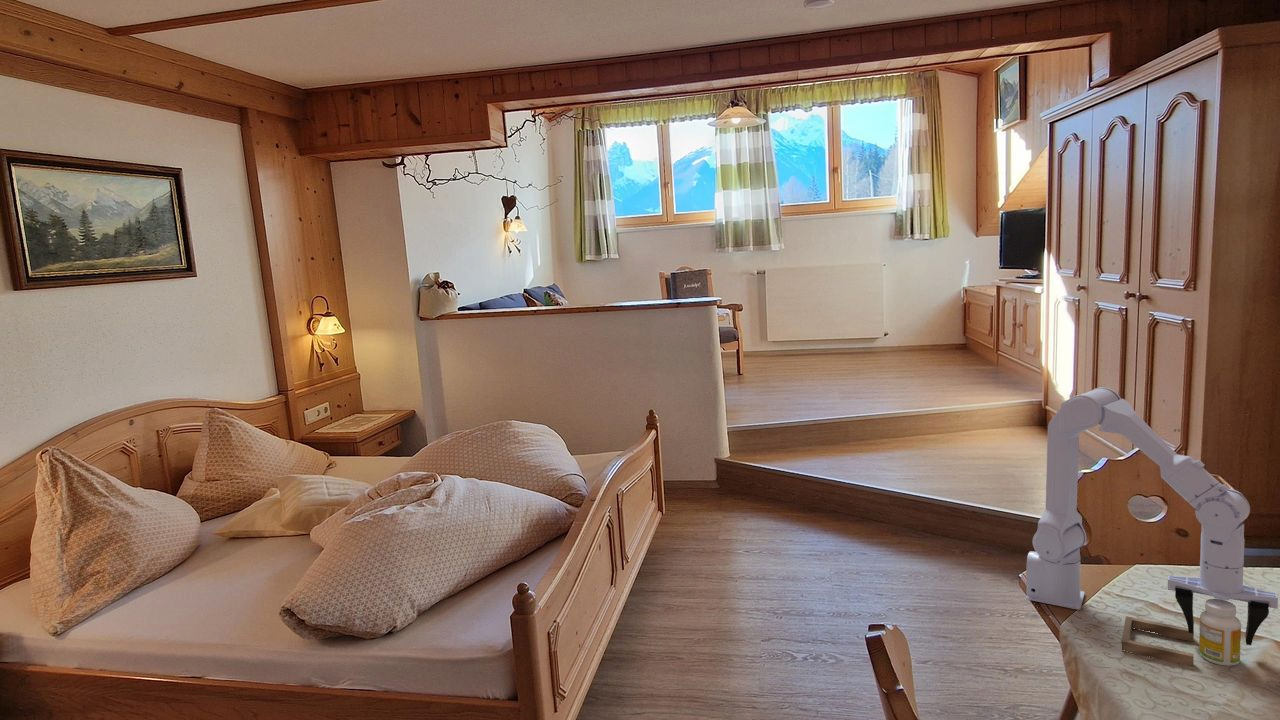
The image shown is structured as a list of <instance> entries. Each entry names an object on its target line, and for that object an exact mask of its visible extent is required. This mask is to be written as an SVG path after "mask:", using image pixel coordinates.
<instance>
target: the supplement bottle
mask: <svg viewBox="0 0 1280 720" xmlns="http://www.w3.org/2000/svg"><path fill="white" fill-rule="evenodd" d="M1204 608H1205V610H1203V611H1202V612H1201V613H1200V615H1199V642H1198V643H1199V644H1198V649H1199V650H1198V651H1199V652H1198V653H1199V655H1200V656H1201V657H1202V658H1203V659H1204V660H1206V661H1208V662H1210V663H1213V664H1215V665H1220V666H1226V667H1230V666H1236V665H1238V664H1239V663H1240V661H1241V642H1242V641H1241V639H1242V637H1241V635H1242V622H1241V621H1240V619H1239V618H1238V617H1237V616H1236V615H1237V606H1236V605H1235V604H1234V603H1233V602H1230V601H1229V600H1221V599H1216V598H1210V599H1206V601H1205V606H1204Z"/></svg>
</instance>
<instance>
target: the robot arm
mask: <svg viewBox="0 0 1280 720" xmlns="http://www.w3.org/2000/svg"><path fill="white" fill-rule="evenodd" d="M1098 425H1100V426H1099V428H1098V431H1099V432H1105V433H1112V434H1119V435H1122V437H1124V438H1125V439H1126V440H1128V441H1129V442H1130V443H1131V444H1132V445H1133V446H1135V447H1136V448H1137V449H1138V450H1140V451H1141V452H1142V453H1143V454H1144V455H1146V457H1148V458H1149V459H1150V460H1152V461H1153V462H1154V463H1155V464H1156V465H1157V466H1159V470H1160V478H1161V479H1162V480H1163V481H1164V482H1166V483H1167V484H1168V485H1169V486H1170V487H1171V488H1172V489H1173V490H1174V491H1175V492H1176V493H1178V495H1179V496H1181V498H1183V499H1184V500H1185V501H1186V502H1187V503H1189V505H1190V506H1191V507H1192V508H1194V509H1195V511H1194V514H1195V518H1196V520H1197V521H1198V523H1199V524H1200V525H1201V533H1200V556H1199V559H1200V560H1199V577H1195V576H1192V577H1190V576H1177V575H1169V574H1168V576H1167V591H1172V592H1174V593H1175V594H1174V597H1175V600H1176V602H1177V604H1178V605H1179V607H1180V609H1181V611H1182V613H1183V616H1184V617H1185V621H1186V625H1187V628H1188V633H1192V634H1195V632H1194V631H1195V629H1194V628H1195V626H1194V625H1195V622H1194V608H1193V607H1194V594H1198V595H1199V594H1200V595H1206V596H1210V597H1212V598H1213V599H1221V600H1225V601H1230V600H1233V601H1240V602H1245V603H1247V621H1246V627H1245V645H1246V646H1252V644H1253V640H1254V638H1255V635H1256V633H1257V631H1258V629H1259V628H1260V626H1261V625H1262V623H1263V622H1264V621H1265V620H1266V619H1267V618H1268V616H1269V614H1270V610H1269V609H1270V608H1271V609H1275V610H1277V609H1278V608H1279V607H1278V605H1279V595H1278V592H1272V591H1267V590H1263V589H1258V588H1256V587H1252V586H1250V585H1249V586H1248V585H1246V584H1245V585H1244V563H1245V562H1244V561H1245V535H1244V534H1245V523H1244V521H1245V520H1246V519H1248V517H1249V515H1250V512H1251V505H1250V503H1249V501H1248V499H1247V498H1246V497H1245V496H1244V494H1243V493H1242V492H1241V491H1238V490H1236V489H1232V488H1230V487H1229V486H1227V485H1226V484H1225V483H1223V484H1222V483H1221V482H1220V481H1219V480H1218V479H1216V478H1215V476H1213V475H1212V474H1210V472H1208V470H1206V468H1204V467H1205V465H1206V464H1204V462H1202V461H1201V460H1200V459H1197V460H1195V459H1194V458H1193V457H1191V456H1189V455H1182V454H1178V453H1176V452H1175V451H1174V450H1173V448H1171V446H1170V445H1169V444H1167V443H1166V442H1165V441H1164V440H1163V439H1162V438H1161V437H1160V435H1158V434H1157V433H1156V432H1155V430H1153V428H1151V427H1150V426H1149V424H1147V423H1146V421H1145V420H1144V419H1142V418H1141V416H1140V415H1138V413H1136V411H1135V409H1134V408H1133V407H1132V404H1130V403H1129V402H1128V400H1126V399H1124V398H1121V396H1120V395H1119V393H1117V392H1116V391H1115V390H1113V389H1111V388H1109V387H1105V386H1103V387H1102V386H1101V387H1096V388H1093V389H1091V390H1090V391H1087V392H1084V393H1081V394H1077V395H1074V396H1072V397H1070V398H1068V399H1067V400H1064V401H1063V402H1061V403H1060V407H1059V409H1058V410H1057V411H1056V412H1055V414H1054V415H1053V417H1052V418H1051V419H1050V421H1049V422H1048V424H1047V442H1046V443H1047V445H1046V446H1047V447H1046V448H1047V449H1046V478H1045V479H1046V483H1045V485H1046V487H1045V509H1044V511H1043V513H1042V515H1041V517H1040V518H1039V520H1038V521H1037V530H1036V532H1035V533H1034V535H1033V537H1032V547H1033V548H1034V551H1032V550H1031V551H1029V552H1028V553H1027V556H1026V564H1025V565H1026V567H1025V568H1026V575H1025V576H1026V577H1025V578H1026V583H1025V584H1026V585H1025V586H1026V596H1025V599H1026V600H1027V601H1028V600H1029V601H1033V602H1038V603H1042V604H1048V605H1052V606H1059V607H1062V608H1066V609H1067V608H1068V609H1071V610H1072V609H1073V610H1077V611H1079V610H1081V608H1082V604H1083V601H1084V597H1085V594H1086V592H1085V591H1083V590H1081V554H1080V551H1081V549H1080V548H1082V547H1083V546H1084V545H1085V544H1086V541H1087V533H1086V530H1085V528H1084V526H1083V517H1082V515H1081V514H1080V513H1079V512H1078V510H1077V509H1078V508H1077V507H1078V481H1079V476H1078V475H1079V451H1080V450H1079V449H1080V435H1081V434H1083V433H1084V432H1085V431H1087V430H1089V429H1092V428H1094V427H1096V426H1098Z"/></svg>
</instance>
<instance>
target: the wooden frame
mask: <svg viewBox="0 0 1280 720" xmlns="http://www.w3.org/2000/svg"><path fill="white" fill-rule="evenodd" d="M1132 628H1135V629H1140V630H1144V631H1150V632H1155V633H1158V634H1157V635H1159V634H1161V635H1160V636H1164V635H1165V637H1169V636H1170V637H1169V638H1174V639H1180V640H1185V641H1189V642H1195V641H1194V639H1195V637H1194V636H1195V635H1194V634H1195V633H1194V634H1192V633H1188V627H1183V626H1177V625H1172V624H1168V623H1162V622H1157V621H1152V620H1146V619H1143V618H1142V619H1141V618H1138V617H1137V618H1136V617H1133V616H1132V617H1131V616H1126V615H1125V618H1124V625H1123V631H1122V637H1121V650H1125V651H1128V652H1127V653H1129V652H1132V653H1131V654H1134V653H1135V655H1138V654H1139V656H1143V657H1147V656H1148V658H1152V657H1153V659H1157V660H1163V661H1167V662H1171V663H1175V664H1180V665H1184V666H1187V667H1194V664H1195V663H1194V661H1195V660H1194V658H1195V655H1194V653H1192V652H1187V651H1183V650H1178V649H1177V650H1176V649H1173V648H1168V647H1164V646H1158V645H1154V644H1150V643H1145V642H1140V641H1134V640H1131V638H1130V637H1131V636H1132V631H1131V630H1133V629H1132ZM1144 631H1143V632H1144ZM1125 651H1124V652H1125ZM1149 656H1150V657H1149Z"/></svg>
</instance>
